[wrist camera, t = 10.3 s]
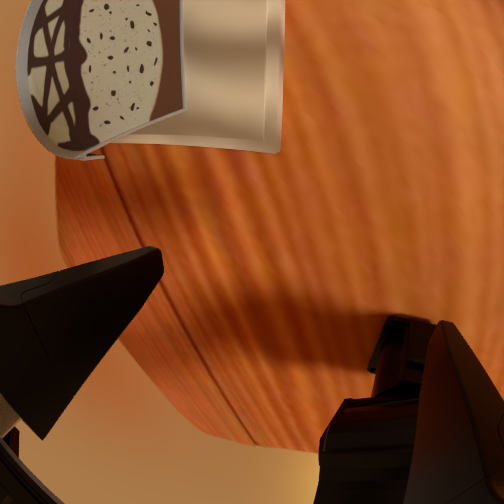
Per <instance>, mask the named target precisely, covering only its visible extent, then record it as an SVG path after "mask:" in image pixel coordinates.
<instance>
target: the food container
mask: <svg viewBox="0 0 504 504" xmlns="http://www.w3.org/2000/svg"><path fill="white" fill-rule="evenodd" d="M16 80H17V81H16V82H17V90H18V96H19V101H20V104H21V108H22V111H23V114H24V116H25V119H26V121H27V124H28V125H29V127H30V129H31V130H32V133H33V134H34V135H35V137H36V138H37V140H38V141H39V142H40V143H41V144H42V145H43V146H44V147H45V148H46V149H47V150H48V151H50V152H52V153H53V154H55V155H57V156H59V157H62V158H65V159H74V160H82V161H85V160H94V159H102V158H104V155H96V154H92V153H90V152H92V151H94V150H96V149H98V148H100V147H102V146H105V145H107V144H109V143H111V142H113V141H115V140H117V139H119V138H122V137H124V136H126V135H128V134H131V133H133V132H135V131H137V130H140V129H142V128H144V127H147V126H149V125H152V124H154V123H157V122H159V121H162V120H164V119H167V118H169V117H172V116H174V115H177V114H180V113H182V112H185V111H186V92H185V69H184V36H183V0H31V2H30V4H29V6H28V8H27V11H26V14H25V16H24V19H23V23H22V26H21V30H20V34H19V40H18V45H17V53H16Z"/></svg>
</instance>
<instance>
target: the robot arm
mask: <svg viewBox="0 0 504 504" xmlns="http://www.w3.org/2000/svg"><path fill="white" fill-rule="evenodd" d="M163 273H164V266H163V259H162V253H161V250H160V249H159V248H155V247H152V246H148V247H144V248H140V249H137V250H133V251H129V252H125V253H122V254H118V255H114V256H111V257H107V258H103V259H100V260H96V261H92V262H89V263H85V264H81V265H78V266H74V267H71V268H67V269H64V270H61V271H60V272H59V271H57V272H53V273H50V274H46V275H42V276H39V277H35V278H31V279H27V280H23V281H18V282H14V283H10V284H6V285H2V286H0V504H64V503H63V502H62V501H61V500H60V499H59V498H58V497H57V496H55V495H54V494H53V493H52V492H51V491H50V490H49V489H48V488H47V487H46V486H45V485H44V484H43V483H42V482H41V481H40V480H39V479H38V478H37V477H36V476H35V475H34V474H33V473H32V472H31V471H30V470H29V469H28V468H27V467H26V466H25V465H24V464H23V462H22V461H21V460H20V459H19V430H18V429H17V428H16V427H15V425H16V424H17V423H18V422H19V421H20V420H21V419H22V420H23V422H24V423H25V424H26V425H27V426H28V427H29V428H30V429H31V430H32V431H33V432H34V433H35V434H36V435H37V436H38V437H39V438H40V439H41V440H43V439H44V438H45V437H46V436H47V434H48V433H49V431H50V430H51V429H52V427H53V426H54V424H55V423H56V421H57V420H58V418H59V417H60V416H61V414H62V413H63V412H64V410H65V409H66V407H67V406H68V404H69V403H70V402H71V400H72V399H73V397H74V396H75V395H76V393H77V392H78V390H79V389H80V388H81V386H82V385H83V384H84V382H85V381H86V380H87V378H88V377H89V375H90V374H91V373H92V372H93V370H94V369H95V367H96V366H97V365H98V363H99V362H100V361H101V359H102V358H103V357H104V356H105V354H106V353H107V352H108V350H109V349H110V348H111V346H112V345H113V344H114V342H115V341H116V340H117V339H118V337H119V336H120V335H121V334H122V332H123V331H124V330H125V328H126V327H127V326H128V325H129V323H130V322H131V321H132V320H133V318H134V317H135V316H136V314H137V313H138V312H139V311H140V309H141V308H142V306H143V305H144V304H145V302H146V300H147V299H148V297H149V296H150V294H151V293H152V291H153V290H154V288H155V287H156V285H157V284H158V282H159V281H160V279H161V277H162V276H163ZM389 322H394V323H392V324H391V323H389ZM367 370H368V371H369V372H370V373H374V374H376V375H375V380H374V385H373V390H372V395H371V398H361V399H352V398H348V399H344V401H343V402H342V404H341V406H340V407H339V409H338V411H337V412H336V414H335V415H334V417H333V419H332V420H331V422H330V423H329V425H328V426H327V428H326V429H325V431H324V433H323V435H322V437H321V438H320V445H319V465H320V472H319V482H318V487H317V492H316V496H315V499H314V503H313V504H504V401H503V399H502V397H501V395H500V394H499V392H498V390H497V389H496V387H495V385H494V384H493V382H492V380H491V379H490V377H489V376H488V374H487V372H486V371H485V369H484V368H483V366H482V365H481V363H480V361H479V360H478V358H477V357H476V355H475V354H474V352H473V351H472V349H471V348H470V346H469V345H468V343H467V342H466V340H465V339H464V338H463V336H462V335H461V333H460V332H459V330H458V329H457V328H456V326H455V325H454V324H453V323H452V322H449V321H444V320H441V321H439V322H438V324H437V326H434V325H429V324H425V323H421V322H416V321H412V320H407V319H403V318H399V317H394V316H389V317H387V318H386V320H385V323H384V326H383V328H382V331H381V334H380V336H379V339H378V342H377V344H376V347H375V349H374V352H373V354H372V357H371V359H370V362H369V364H368V368H367Z"/></svg>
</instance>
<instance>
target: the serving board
mask: <svg viewBox="0 0 504 504" xmlns="http://www.w3.org/2000/svg"><path fill="white" fill-rule="evenodd" d="M284 33H285V0H183V36H184V69H185V92H186V111H185V112H182V113H180V114H177V115H174V116H172V117H169V118H167V119H164V120H162V121H159V122H157V123H154V124H152V125H149V126H147V127H144V128H142V129H140V130H137V131H135V132H133V133H131V134H128V135H126V136H124V137H122V138H119V139H117V140H115V141H113V142H111V143H145V144H170V145H188V146H202V147H215V148H226V149H237V150H247V151H256V152H265V153H273V154H276V153H278V152H279V151H280V149H281V126H282V100H283V71H284Z"/></svg>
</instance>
